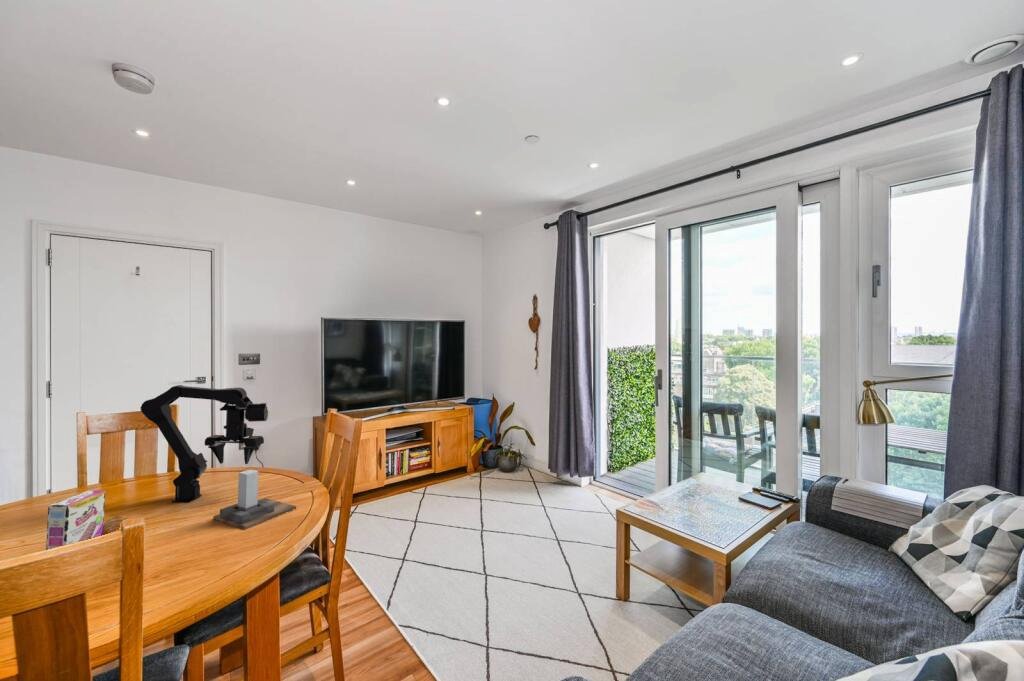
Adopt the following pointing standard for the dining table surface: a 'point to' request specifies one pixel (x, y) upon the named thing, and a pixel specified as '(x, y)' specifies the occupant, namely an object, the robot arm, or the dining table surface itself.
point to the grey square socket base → (253, 513)
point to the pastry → (113, 524)
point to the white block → (248, 490)
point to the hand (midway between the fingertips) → (234, 463)
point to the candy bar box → (75, 519)
